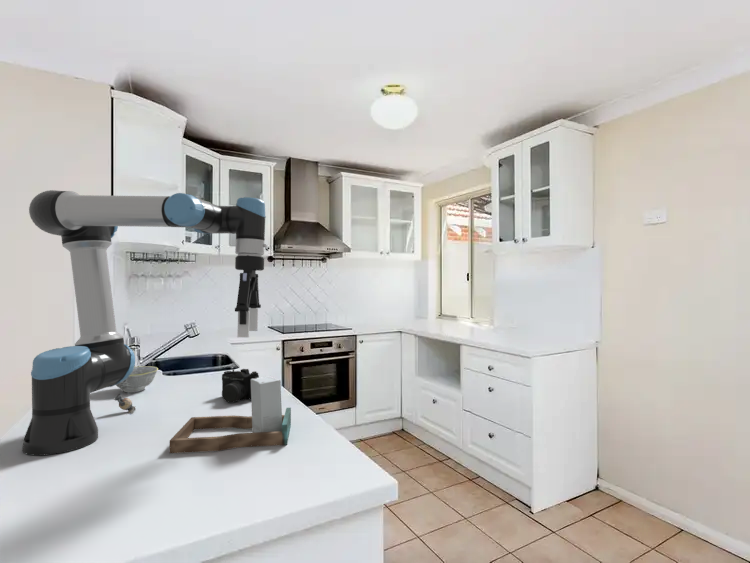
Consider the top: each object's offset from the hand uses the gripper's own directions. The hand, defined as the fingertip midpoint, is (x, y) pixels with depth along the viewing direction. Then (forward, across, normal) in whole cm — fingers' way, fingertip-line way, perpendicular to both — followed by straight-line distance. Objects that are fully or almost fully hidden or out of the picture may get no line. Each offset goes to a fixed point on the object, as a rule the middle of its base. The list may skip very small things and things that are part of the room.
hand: (248, 334), depth 114 cm
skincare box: (+26, -4, -6) cm, 27 cm away
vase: (+28, +21, +40) cm, 53 cm away
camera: (+27, +32, +9) cm, 42 cm away
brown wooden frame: (+26, -5, +1) cm, 27 cm away
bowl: (+28, +50, +50) cm, 76 cm away
